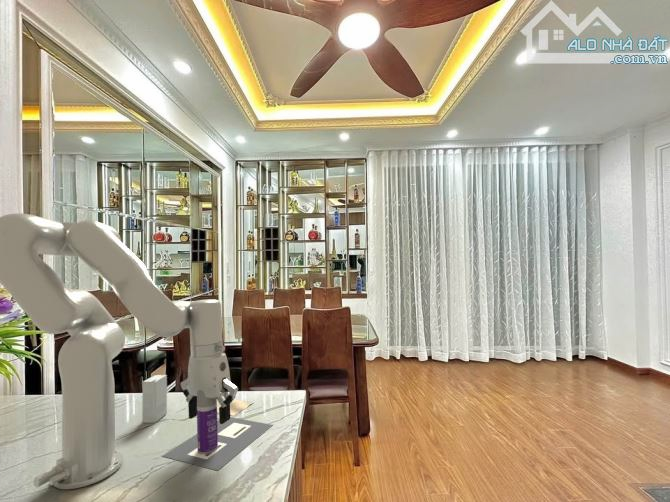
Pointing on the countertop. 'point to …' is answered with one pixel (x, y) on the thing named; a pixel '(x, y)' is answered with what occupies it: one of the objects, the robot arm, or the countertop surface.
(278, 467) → the countertop surface
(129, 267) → the robot arm
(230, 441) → the label mat
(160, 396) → the skincare box
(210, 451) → the container
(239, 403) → the oak pad
